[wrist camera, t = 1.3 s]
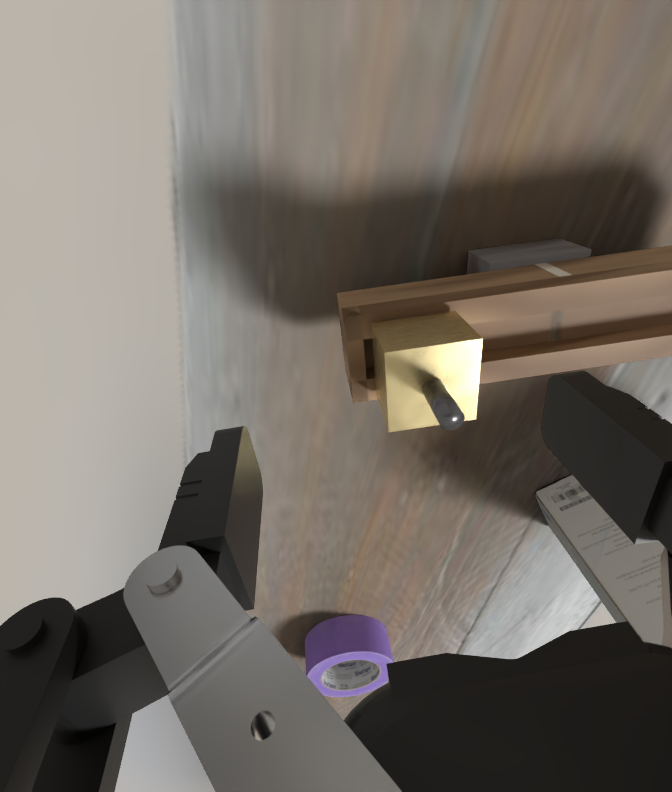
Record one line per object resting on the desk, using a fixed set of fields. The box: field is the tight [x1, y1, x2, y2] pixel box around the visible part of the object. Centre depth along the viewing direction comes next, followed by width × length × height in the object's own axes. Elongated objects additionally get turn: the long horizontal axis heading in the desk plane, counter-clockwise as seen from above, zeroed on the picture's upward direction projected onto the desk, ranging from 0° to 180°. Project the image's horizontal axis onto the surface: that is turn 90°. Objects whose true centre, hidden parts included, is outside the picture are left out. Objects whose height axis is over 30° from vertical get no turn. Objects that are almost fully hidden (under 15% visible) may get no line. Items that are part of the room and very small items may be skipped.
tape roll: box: [305, 615, 393, 697], centre depth 56 cm, size 12×12×5 cm
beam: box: [337, 238, 672, 403], centre depth 29 cm, size 7×28×8 cm, turn 96°
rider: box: [371, 311, 483, 432], centre depth 23 cm, size 5×5×8 cm
